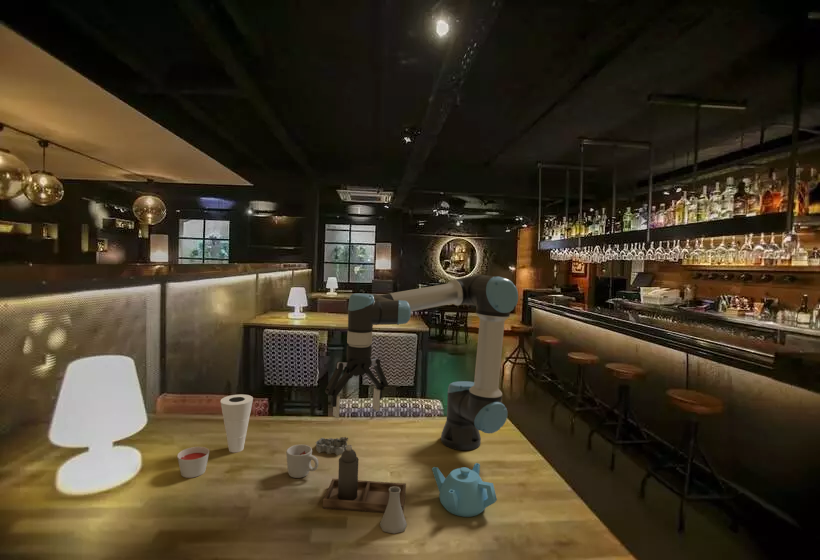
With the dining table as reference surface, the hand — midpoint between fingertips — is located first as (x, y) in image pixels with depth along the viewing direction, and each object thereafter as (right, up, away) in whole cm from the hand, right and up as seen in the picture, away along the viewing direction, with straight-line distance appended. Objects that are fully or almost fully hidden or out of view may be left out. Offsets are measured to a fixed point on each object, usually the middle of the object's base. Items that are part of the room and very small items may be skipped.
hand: (356, 413), depth 135 cm
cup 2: (-45, -19, +20) cm, 53 cm away
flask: (+12, -24, -19) cm, 33 cm away
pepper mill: (-2, -22, -7) cm, 23 cm away
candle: (-52, -20, +4) cm, 56 cm away
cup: (-18, -21, +5) cm, 28 cm away
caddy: (+4, -23, -7) cm, 24 cm away
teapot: (+32, -24, -8) cm, 41 cm away
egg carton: (-12, -21, +23) cm, 33 cm away
